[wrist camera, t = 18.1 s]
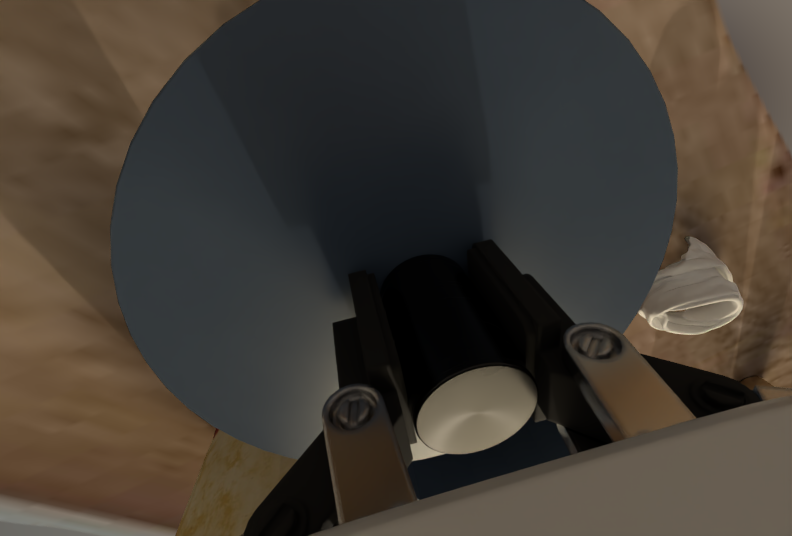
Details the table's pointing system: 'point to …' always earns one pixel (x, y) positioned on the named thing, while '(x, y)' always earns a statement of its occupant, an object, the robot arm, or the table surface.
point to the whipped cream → (692, 293)
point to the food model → (230, 487)
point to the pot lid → (386, 204)
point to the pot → (488, 460)
